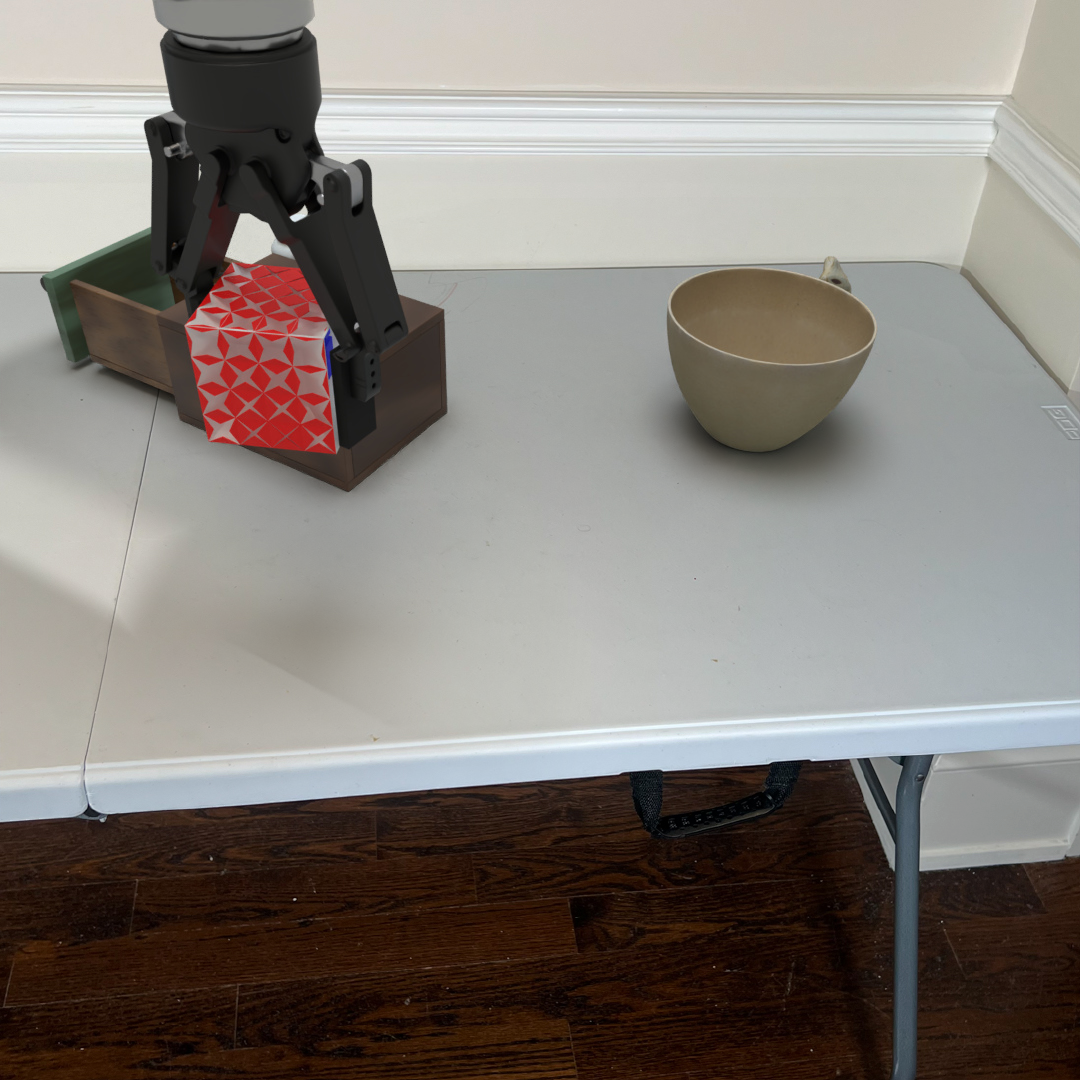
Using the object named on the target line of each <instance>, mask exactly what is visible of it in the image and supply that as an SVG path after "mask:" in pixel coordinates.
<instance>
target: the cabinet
mask: <svg viewBox="0 0 1080 1080" xmlns="http://www.w3.org/2000/svg"><path fill="white" fill-rule="evenodd" d="M252 264H258V265H268V266H279V267H290V268H299V266H298V264H297V262H296V260H293V259H290V258H287V257H284V256H281V255H278V254H275V253H272V252H271V253H270V254H268V255H265V256H264V257H263V258H261V259H259V260H257V261H255V262H253V263H252ZM215 284H216V283H215ZM215 284H214V285H215ZM398 295H399V298H400V302H401V305H402V308H403V312H404V315H405V319H406V322H407V326H408V330H409V333H408V335H407V336H406V337H405V338H404V339H402V340H401V341H399V342H398V343H397V344H395V345H394V346H392V347H391V348H389V349H388V350H386V351H385V352H384V353H382V354H381V355H380V368H381V370H380V372H381V382H382V386H381V389H380V392H378V393H377V394H376V395H374V398H375V411H376V425H377V429H376V430H374V431H373V432H372V433H370V434H369V435H368V436H366V437H365V438H364V439H362V440H361V441H360V442H359V443H357V444H356V445H355V446H353V447H352V448H351V449H349V450H348V449H346V448H344V447H341V446H340V447H339V449H338V451H337V454H329V453H319V452H309V451H299V450H289V449H279V448H269V447H259V446H248V445H239V446H240V447H243V448H245V449H247V450H249V451H252V452H254V453H257V454H259V455H261V456H263V457H266V458H269V459H270V460H273V461H275V462H278V463H280V464H283V465H285V466H287V467H289V468H292V469H294V470H297V471H299V472H302V473H304V474H306V475H308V476H311V477H312V478H315V479H318V480H319V481H323V482H325V483H327V484H330V485H332V486H334V487H336V488H339V489H342V490H343V491H345V492H350V491H352V490H353V489H354V488H356V487H357V485H359V484H360V483H361V482H363V481H364V480H365V479H367V477H369V476H370V475H371V474H373V473H374V472H375V471H376V470H378V469H379V468H380V467H381V466H382V465H384V464H385V463H386V462H388V460H390V459H391V458H392V457H394V456H395V455H396V454H398V453H399V452H400V451H401V450H402V449H404V447H406V446H407V445H408V444H410V443H411V442H412V441H414V440H415V439H416V438H417V437H418V436H420V435H421V434H422V433H423V432H425V431H426V430H427V429H428V428H429V427H431V426H432V425H433V424H435V422H437V421H438V420H439V419H440V418H441V417H443V416H444V415H445V414H447V413H448V390H447V389H448V388H447V387H448V384H447V383H448V382H447V352H446V351H447V350H446V347H447V346H446V321H445V319H446V318H445V309H444V308H442V307H439V306H436V305H433V304H430V303H426V302H425V301H424V302H423V301H421V300H418V299H414V298H412V297H408V296H406V295H403V294H399V293H398ZM156 318H157V323H158V327H159V331H160V336H161V340H162V344H163V349H164V353H165V357H166V362H167V366H168V370H169V375H170V379H171V383H172V388H173V392H174V395H173V397H174V400H175V404H176V408H177V414H178V418H179V421H182V422H184V423H186V424H189V425H191V426H193V427H196V428H198V429H201V430H203V431H205V432H206V428H205V423H204V418H203V413H202V408H201V403H200V399H199V394H198V389H197V384H196V379H195V375H194V370H193V365H192V360H191V355H190V350H189V345H188V340H187V335H186V331H185V326H184V325H185V324H186V323H187V321H188V320H189V317H188V312H187V307H186V302H185V300H183V301H181V302H179V303H177V304H175V305H173V306H171V307H170V308H168V309H166V310H164V311H162V312H160V313H158V314H156Z"/></svg>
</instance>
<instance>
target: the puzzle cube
mask: <svg viewBox="0 0 1080 1080" xmlns="http://www.w3.org/2000/svg"><path fill="white" fill-rule="evenodd" d="M184 326H185V331H186V335H187V340H188V345H189V350H190V355H191V360H192V365H193V370H194V375H195V379H196V384H197V389H198V394H199V399H200V403H201V408H202V413H203V418H204V423H205V428H206V431H205V433H206V437H207V441H208V443H209V442H210V443H216V444H217V443H219V444H229V445H237V446H240V445H248V446H259V447H269V448H279V449H289V450H299V451H309V452H319V453H329V454H337V451H338V449H339V447H340V446H339V439H338V430H337V420H336V411H335V401H334V392H333V382H332V373H331V364H330V354H329V351H331V350H332V349H334V348H335V347H337V346H338V345H339V343H338V341H337V339H336V337H335V336H334V334H333V332H332V330H331V328H330V326H329V324H328V322H327V320H326V318H325V316H324V314H323V312H322V310H321V308H320V307H319V305H318V303H317V301H316V299H315V297H314V295H313V293H312V291H311V289H310V287H309V285H308V283H307V281H306V280H305V278H304V276H303V274H302V272H301V270H300V268H290V267H279V266H268V265H258V264H253V263H246V262H243V263H235V262H232V263H231V264H230V265H229V267H228V268H227V269H226V271H225V272H224V273H223V275H222V276H221V277H220V279H219V280H218V281H217V283H216V284H215V285H214V287H213V288H212V289H211V291H210V292H209V293H208V295H207V296H206V297H205V299H204V300H203V301H202V303H201V304H200V305H199V307H198V308H197V309H196V311H195V312H194V313H193V315H192V316H191V317H190V319H189V320H188V321H187V323H186V324H185V325H184ZM357 327H359V325H358V323H356V324H355V325H354V329H356V328H357Z"/></svg>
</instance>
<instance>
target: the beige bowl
mask: <svg viewBox="0 0 1080 1080" xmlns="http://www.w3.org/2000/svg"><path fill="white" fill-rule="evenodd" d="M666 333H667V334H666V335H667V345H668V351H669V356H670V362H671V366H672V369H673V373H674V377H675V380H676V383H677V385H678V389H679V391H680V392H681V395H682V397H683V399H684V401H685V403H686V404H687V406H688V408H689V410H690V411H691V412H692V414H693V416H694V417H695V418H696V420H697V421H698V423H699V424H700V425H701V427H702V428H703V429H704V431H705V432H707V434H708V435H709V436H711V437H712V438H713V439H714V440H715V441H717V442H719V443H720V444H722V445H724V446H727V447H728V448H732V449H736V450H739V451H743V452H752V453H763V452H772V451H776V450H779V449H781V448H783V447H785V446H788V445H790V444H791V443H793V442H794V441H796V440H798V439H799V438H801V437H803V436H804V435H805V434H807V433H808V432H810V431H811V430H813V429H814V428H816V426H818V425H819V424H820V423H821V422H822V421H824V419H826V418H827V417H828V415H829V414H830V413H832V412H833V410H834V409H836V407H837V406H838V405H839V404H840V403H841V402H842V400H843V399H844V398H845V397H846V395H847V394H848V392H849V391H850V389H851V388H852V387H853V386H854V384H855V382H856V381H857V379H858V377H859V375H860V373H861V372H862V370H863V368H864V367H865V364H866V362H867V361H868V358H869V356H870V355H871V354H870V353H871V351H872V349H873V347H874V344H875V341H876V338H877V335H878V323H877V320H876V317H875V315H874V314H873V312H872V311H871V309H870V308H869V307H868V306H867V305H866V304H865V303H864V302H863V301H862V300H861V299H860V298H858V297H857V296H855V295H854V294H852V292H851V293H849V292H847V291H845V290H844V289H842V288H840V287H838V286H836V285H833V284H831V283H829V282H826V281H824V280H821V279H819V278H818V277H815V276H811V275H808V274H804V273H800V272H796V271H791V270H784V269H779V268H771V267H770V268H769V267H760V266H759V267H758V266H735V267H723V268H717V269H711V270H707V271H704V272H700V273H697V274H694V275H692V276H690V277H688V278H686V279H684V280H683V281H681V282H680V283H678V284H677V285H676V286H675V287H674V288H673V290H672V291H671V292H670V294H669V295H668V300H667V306H666Z"/></svg>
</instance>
